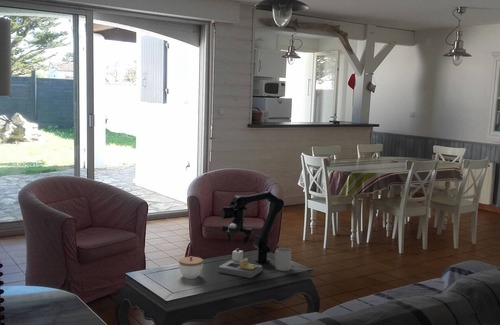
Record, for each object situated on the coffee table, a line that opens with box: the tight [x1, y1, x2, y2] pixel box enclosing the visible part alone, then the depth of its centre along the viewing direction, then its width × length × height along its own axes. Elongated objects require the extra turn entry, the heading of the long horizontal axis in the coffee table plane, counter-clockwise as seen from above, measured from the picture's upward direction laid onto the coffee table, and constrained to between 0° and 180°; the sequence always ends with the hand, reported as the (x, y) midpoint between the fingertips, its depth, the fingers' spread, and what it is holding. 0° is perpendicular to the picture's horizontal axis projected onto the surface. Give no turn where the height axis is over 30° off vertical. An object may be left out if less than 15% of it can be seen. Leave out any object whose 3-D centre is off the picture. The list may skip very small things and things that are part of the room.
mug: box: [274, 247, 292, 272], centre depth 295 cm, size 12×8×11 cm
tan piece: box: [240, 257, 259, 270], centre depth 284 cm, size 8×8×4 cm
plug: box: [231, 247, 244, 262], centre depth 298 cm, size 4×4×10 cm
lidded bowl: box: [178, 255, 204, 280], centre depth 275 cm, size 13×13×11 cm
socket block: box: [217, 259, 263, 279], centre depth 286 cm, size 14×20×3 cm
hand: (237, 244), depth 297 cm, fingers open, 8 cm apart
